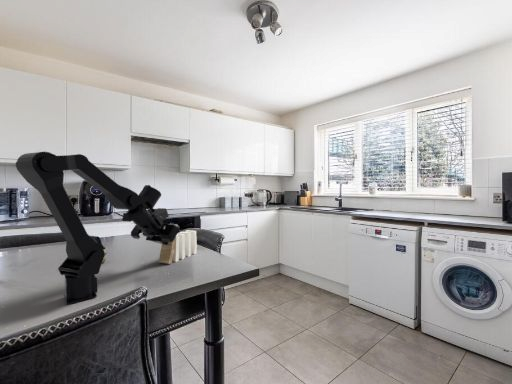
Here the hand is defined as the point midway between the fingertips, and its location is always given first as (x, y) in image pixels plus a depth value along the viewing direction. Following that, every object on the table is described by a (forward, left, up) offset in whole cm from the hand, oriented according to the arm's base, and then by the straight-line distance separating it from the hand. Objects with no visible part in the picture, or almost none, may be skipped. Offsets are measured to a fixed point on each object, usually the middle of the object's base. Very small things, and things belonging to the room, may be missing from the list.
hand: (166, 243), depth 98 cm
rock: (-23, +19, -8) cm, 30 cm away
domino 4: (+10, +5, -7) cm, 13 cm away
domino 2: (+3, +1, -7) cm, 8 cm away
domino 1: (-1, -1, -7) cm, 7 cm away
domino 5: (+13, +6, -7) cm, 17 cm away
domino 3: (+6, +3, -7) cm, 10 cm away
